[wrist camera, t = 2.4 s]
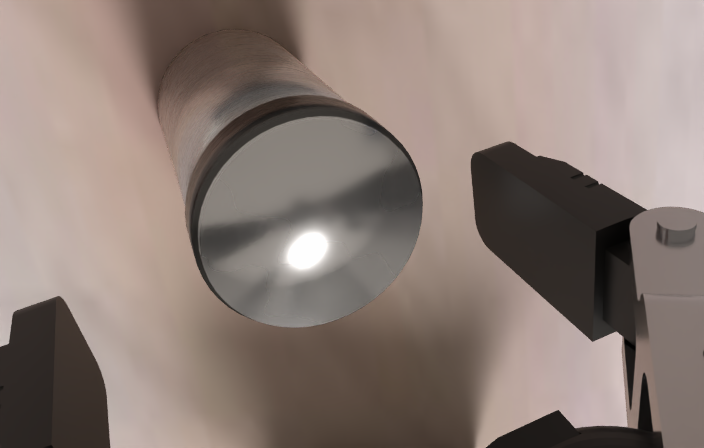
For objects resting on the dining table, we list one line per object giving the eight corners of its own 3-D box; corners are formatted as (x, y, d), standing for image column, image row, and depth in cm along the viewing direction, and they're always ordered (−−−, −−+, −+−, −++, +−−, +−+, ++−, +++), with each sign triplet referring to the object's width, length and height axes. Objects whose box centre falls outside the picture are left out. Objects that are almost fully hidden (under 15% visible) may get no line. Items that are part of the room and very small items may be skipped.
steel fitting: (294, 8, 18) (413, 84, 12) (323, 155, 21) (436, 287, 14) (130, 48, 17) (159, 157, 11) (181, 198, 20) (230, 362, 13)
